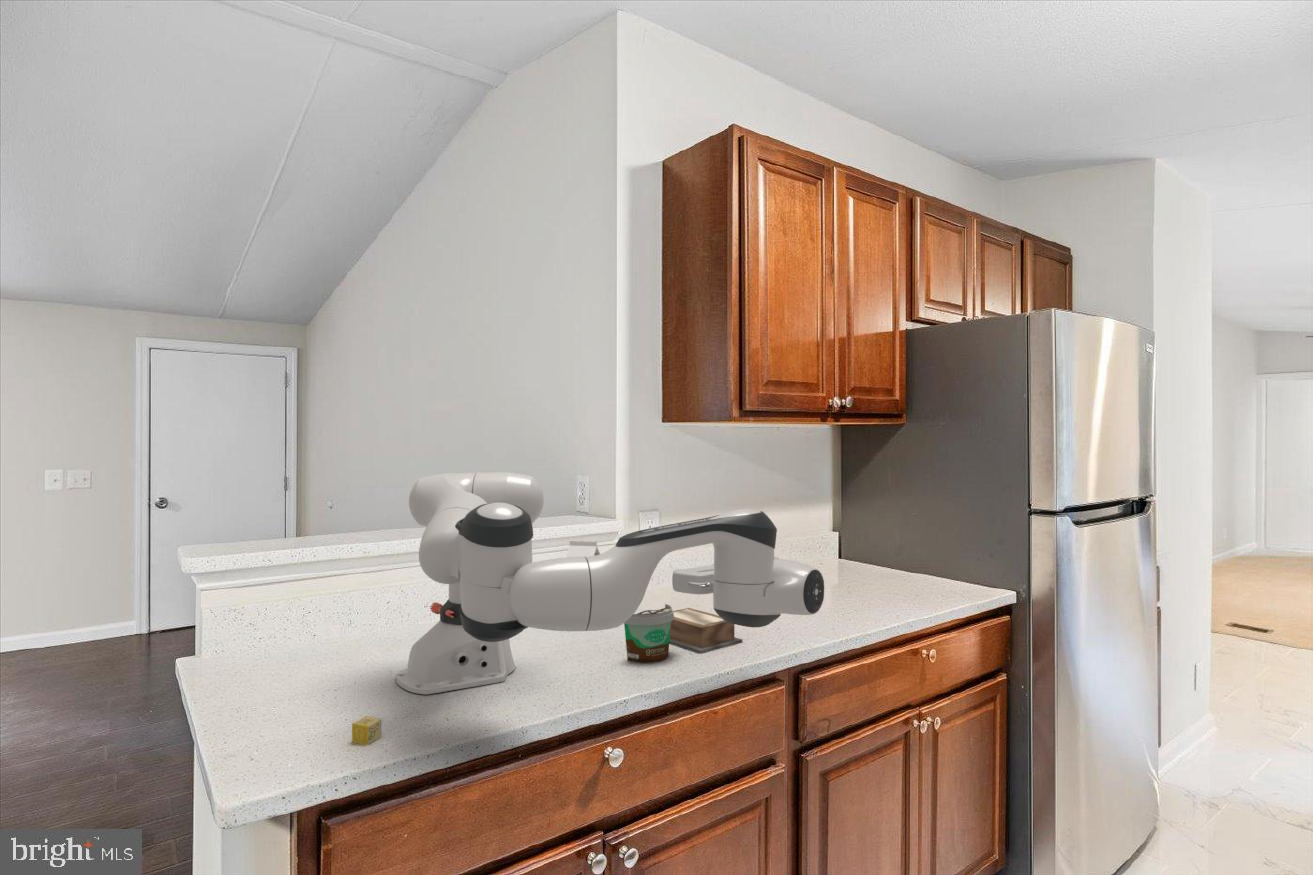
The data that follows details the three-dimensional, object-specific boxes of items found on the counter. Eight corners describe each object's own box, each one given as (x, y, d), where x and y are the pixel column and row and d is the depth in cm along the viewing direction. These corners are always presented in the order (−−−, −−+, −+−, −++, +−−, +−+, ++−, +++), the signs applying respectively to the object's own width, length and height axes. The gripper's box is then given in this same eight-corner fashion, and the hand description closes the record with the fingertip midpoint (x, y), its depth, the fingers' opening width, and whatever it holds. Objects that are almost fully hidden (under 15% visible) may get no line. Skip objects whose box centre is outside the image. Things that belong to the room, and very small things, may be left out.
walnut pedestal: (699, 653, 157) (699, 629, 157) (648, 636, 170) (648, 614, 170) (742, 642, 165) (742, 619, 165) (690, 626, 178) (690, 605, 178)
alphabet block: (382, 737, 115) (381, 717, 115) (368, 745, 112) (368, 725, 112) (365, 734, 116) (365, 715, 116) (351, 742, 113) (351, 722, 113)
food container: (640, 668, 147) (640, 618, 147) (621, 661, 152) (621, 612, 152) (686, 656, 155) (686, 608, 155) (667, 649, 160) (667, 603, 159)
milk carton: (593, 620, 185) (592, 543, 185) (565, 618, 186) (565, 543, 186) (600, 613, 192) (600, 539, 192) (574, 612, 193) (574, 539, 193)
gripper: (702, 606, 125) (652, 595, 136) (785, 590, 137) (733, 581, 148) (701, 568, 125) (651, 560, 136) (784, 556, 138) (733, 549, 149)
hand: (695, 571), depth 142 cm, fingers open, 8 cm apart
